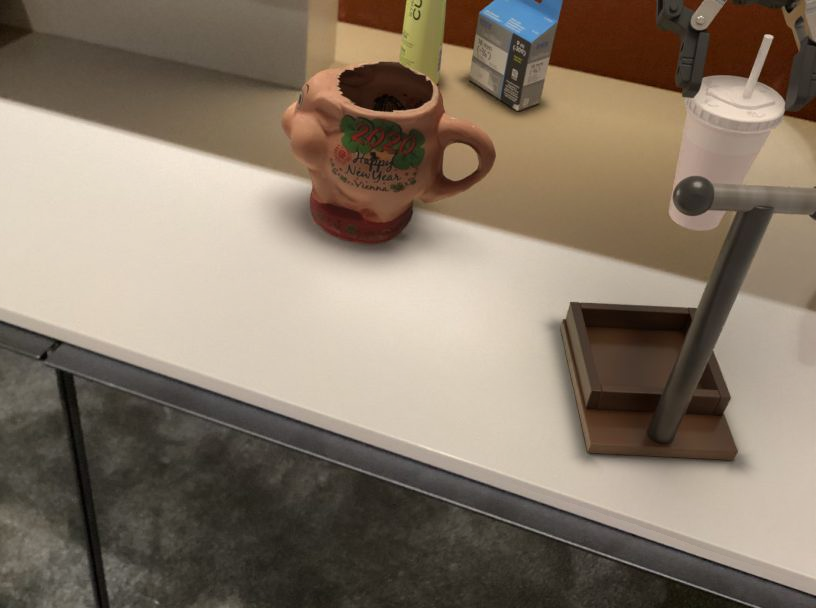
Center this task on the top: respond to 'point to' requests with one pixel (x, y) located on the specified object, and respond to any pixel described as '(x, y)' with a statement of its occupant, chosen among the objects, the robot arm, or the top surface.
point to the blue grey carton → (514, 49)
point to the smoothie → (725, 133)
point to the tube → (423, 36)
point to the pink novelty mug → (377, 147)
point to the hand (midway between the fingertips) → (743, 100)
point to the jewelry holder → (671, 341)
